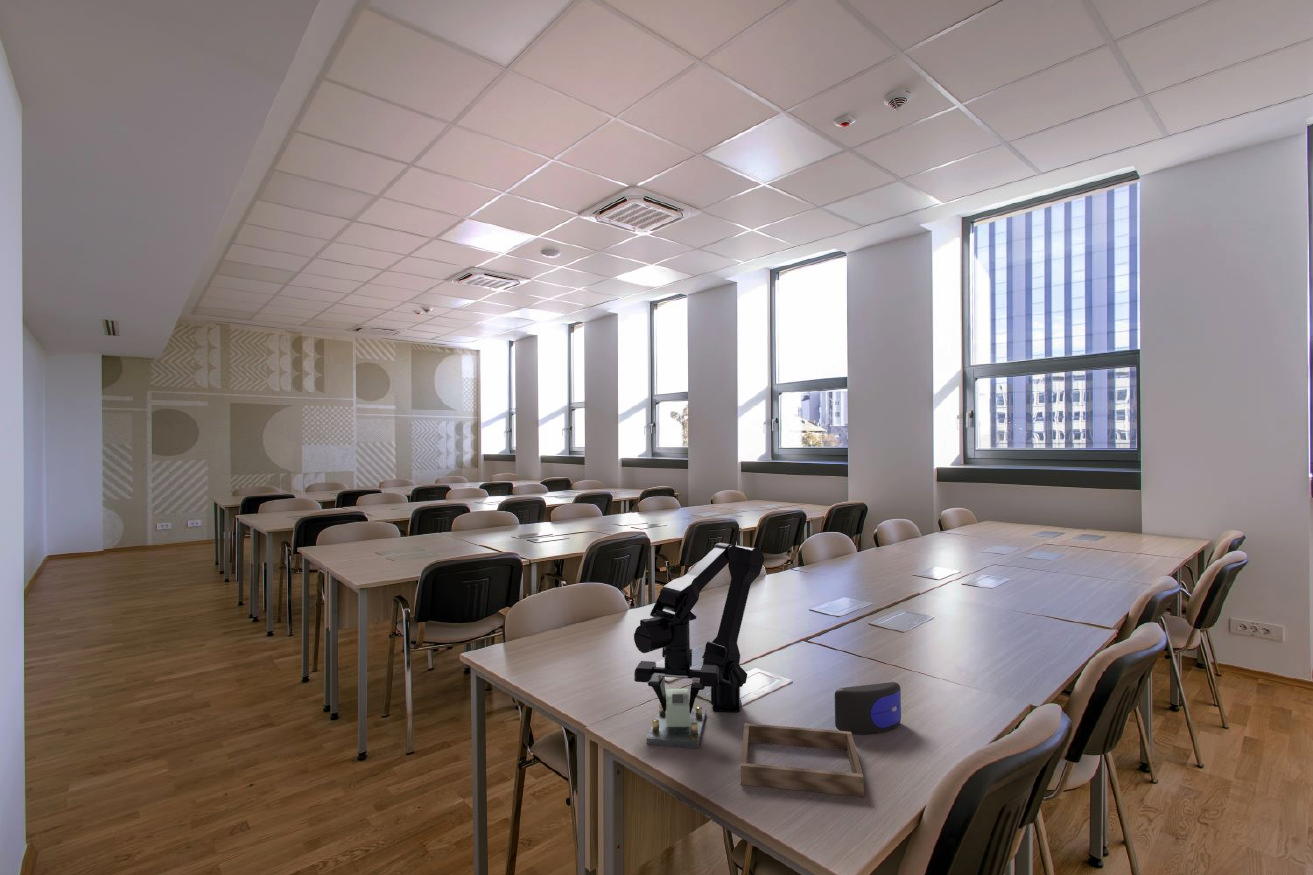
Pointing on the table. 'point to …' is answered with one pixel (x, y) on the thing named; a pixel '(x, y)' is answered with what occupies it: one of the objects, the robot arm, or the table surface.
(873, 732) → the black and blue case
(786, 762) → the table surface
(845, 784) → the storage tray
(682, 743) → the chassis
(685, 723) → the pale green block
